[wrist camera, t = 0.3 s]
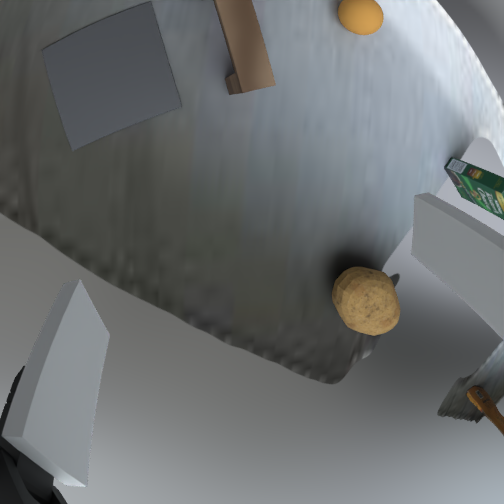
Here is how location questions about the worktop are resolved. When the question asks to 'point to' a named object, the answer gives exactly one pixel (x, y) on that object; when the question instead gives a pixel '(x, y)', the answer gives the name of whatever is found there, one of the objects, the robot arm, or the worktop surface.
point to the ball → (360, 16)
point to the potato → (366, 300)
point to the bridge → (244, 46)
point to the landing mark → (111, 75)
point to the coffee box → (478, 185)
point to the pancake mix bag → (486, 406)
